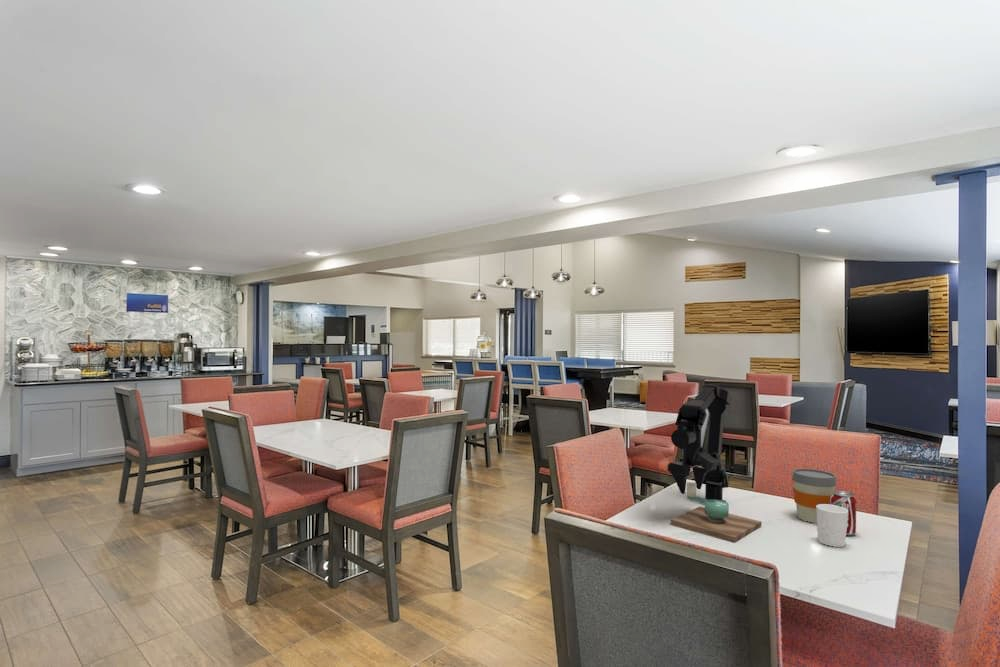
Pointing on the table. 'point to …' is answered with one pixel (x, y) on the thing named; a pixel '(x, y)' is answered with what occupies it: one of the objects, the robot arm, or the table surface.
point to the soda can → (848, 503)
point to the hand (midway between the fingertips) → (690, 491)
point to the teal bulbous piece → (708, 503)
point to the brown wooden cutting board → (717, 524)
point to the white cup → (831, 524)
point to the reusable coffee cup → (812, 491)
